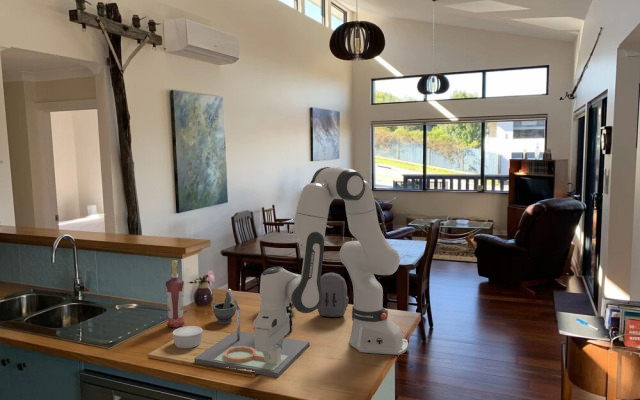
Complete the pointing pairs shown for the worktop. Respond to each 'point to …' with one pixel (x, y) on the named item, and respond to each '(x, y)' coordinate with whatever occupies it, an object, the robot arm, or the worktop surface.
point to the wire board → (216, 353)
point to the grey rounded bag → (333, 295)
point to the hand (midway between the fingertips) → (273, 354)
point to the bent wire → (237, 313)
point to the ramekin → (187, 336)
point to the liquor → (175, 298)
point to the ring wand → (253, 354)
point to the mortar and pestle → (224, 310)
